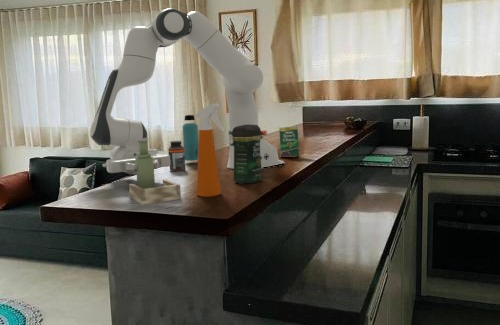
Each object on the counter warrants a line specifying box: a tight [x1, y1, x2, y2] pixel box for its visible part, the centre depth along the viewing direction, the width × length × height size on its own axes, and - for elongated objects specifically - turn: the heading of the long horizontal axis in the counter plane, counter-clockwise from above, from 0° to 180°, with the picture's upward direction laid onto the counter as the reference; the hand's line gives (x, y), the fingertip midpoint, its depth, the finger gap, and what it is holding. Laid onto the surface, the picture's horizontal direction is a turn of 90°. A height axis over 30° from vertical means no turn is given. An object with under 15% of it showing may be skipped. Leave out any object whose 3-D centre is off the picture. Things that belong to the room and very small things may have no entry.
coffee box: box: [278, 126, 300, 157], centre depth 209 cm, size 8×3×13 cm, turn 86°
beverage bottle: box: [182, 114, 199, 162], centre depth 204 cm, size 6×7×20 cm
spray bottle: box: [195, 103, 225, 198], centre depth 141 cm, size 7×11×26 cm, turn 49°
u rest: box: [128, 178, 182, 206], centre depth 141 cm, size 11×11×4 cm
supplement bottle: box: [168, 140, 186, 173], centre depth 187 cm, size 6×6×11 cm
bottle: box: [135, 137, 156, 189], centre depth 153 cm, size 5×5×16 cm
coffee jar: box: [232, 124, 263, 185], centre depth 159 cm, size 10×8×19 cm
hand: (145, 166), depth 152 cm, fingers closed on bottle, 5 cm apart
